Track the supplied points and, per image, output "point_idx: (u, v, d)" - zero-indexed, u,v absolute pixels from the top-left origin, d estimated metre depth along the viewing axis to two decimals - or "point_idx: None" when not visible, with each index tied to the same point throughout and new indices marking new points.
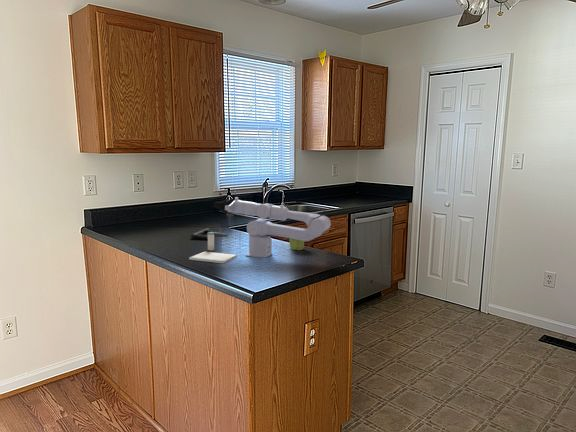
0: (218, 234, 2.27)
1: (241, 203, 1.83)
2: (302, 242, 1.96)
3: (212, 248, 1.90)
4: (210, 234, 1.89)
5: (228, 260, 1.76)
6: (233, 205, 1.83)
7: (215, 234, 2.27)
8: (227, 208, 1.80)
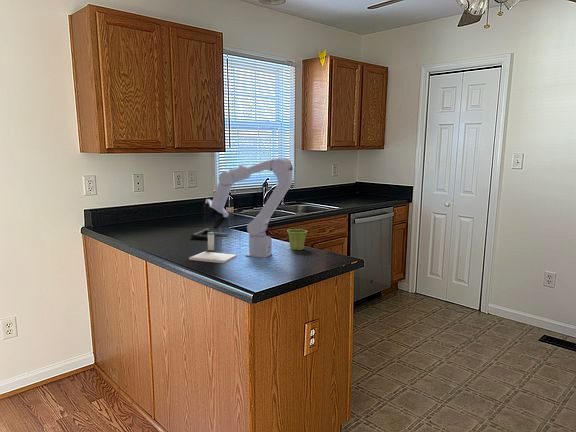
0: (218, 234, 2.27)
1: (218, 201, 1.85)
2: (302, 242, 1.96)
3: (212, 248, 1.90)
4: (210, 234, 1.89)
5: (228, 260, 1.76)
6: (220, 209, 1.86)
7: (215, 234, 2.27)
8: (227, 214, 1.84)
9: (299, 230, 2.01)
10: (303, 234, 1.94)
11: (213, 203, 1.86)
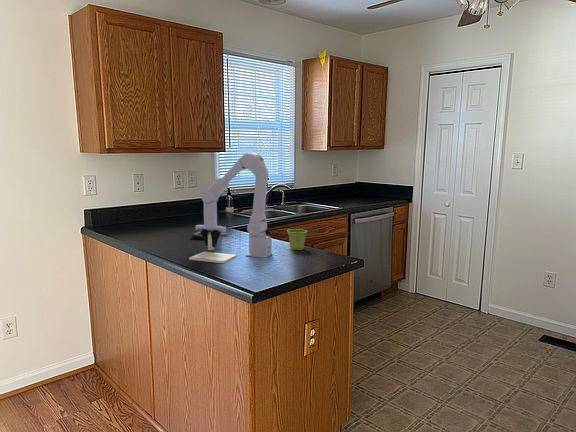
0: None
1: (211, 220, 1.87)
2: (302, 242, 1.96)
3: (212, 248, 1.90)
4: (210, 234, 1.89)
5: (228, 260, 1.76)
6: (215, 227, 1.88)
7: None
8: (225, 228, 1.88)
9: (299, 230, 2.01)
10: (303, 234, 1.94)
11: (207, 224, 1.87)
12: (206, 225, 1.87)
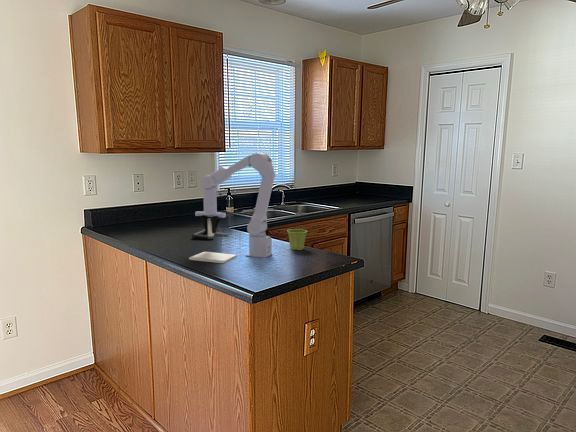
0: (218, 234, 2.27)
1: (211, 206, 1.86)
2: (302, 242, 1.96)
3: (212, 234, 1.89)
4: (210, 220, 1.88)
5: (228, 260, 1.76)
6: None
7: (215, 234, 2.27)
8: (225, 214, 1.87)
9: (299, 230, 2.01)
10: (303, 234, 1.94)
11: (207, 210, 1.86)
12: (206, 211, 1.86)
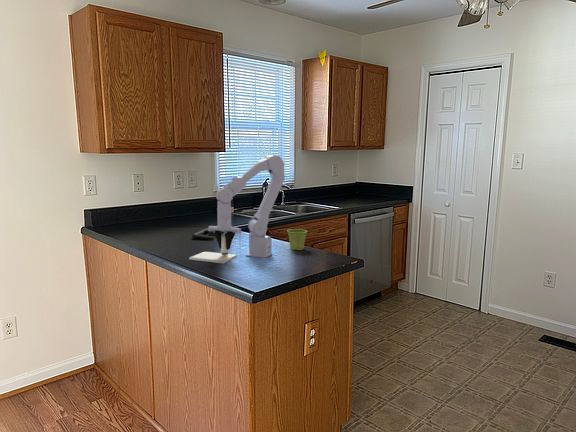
0: None
1: (225, 221, 1.76)
2: (302, 242, 1.96)
3: (226, 251, 1.80)
4: (224, 236, 1.78)
5: (228, 260, 1.76)
6: (229, 228, 1.78)
7: None
8: (240, 230, 1.77)
9: (299, 230, 2.01)
10: (303, 234, 1.94)
11: (221, 225, 1.76)
12: (220, 226, 1.77)
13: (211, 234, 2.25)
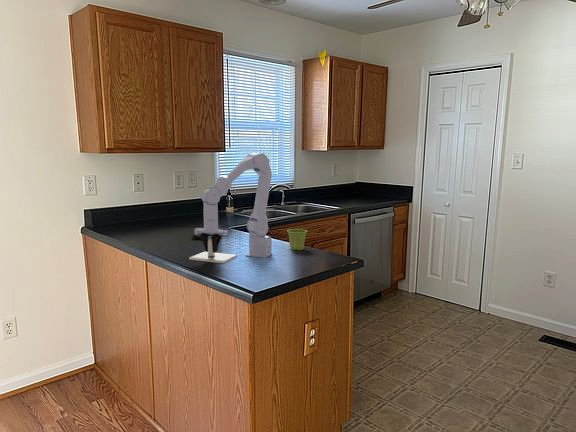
0: None
1: (212, 223, 1.71)
2: (302, 242, 1.96)
3: (213, 254, 1.74)
4: (210, 238, 1.73)
5: (228, 260, 1.76)
6: (216, 230, 1.72)
7: None
8: (226, 232, 1.71)
9: (299, 230, 2.01)
10: (303, 234, 1.94)
11: (207, 228, 1.71)
12: (206, 228, 1.71)
13: (211, 234, 2.25)
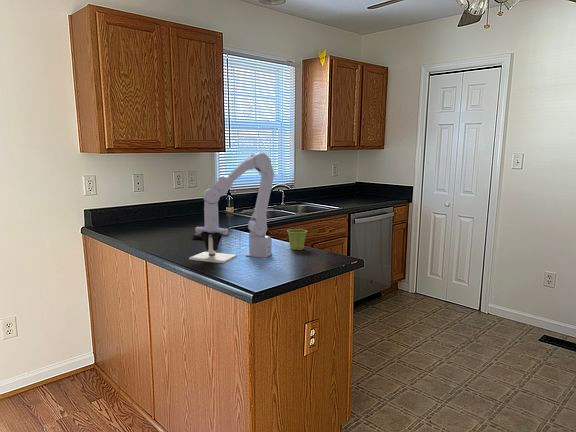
0: None
1: (212, 222, 1.74)
2: (302, 242, 1.96)
3: (213, 252, 1.77)
4: (211, 237, 1.76)
5: (228, 260, 1.76)
6: (217, 229, 1.75)
7: None
8: (227, 231, 1.75)
9: (299, 230, 2.01)
10: (303, 234, 1.94)
11: (208, 226, 1.74)
12: (207, 227, 1.75)
13: None
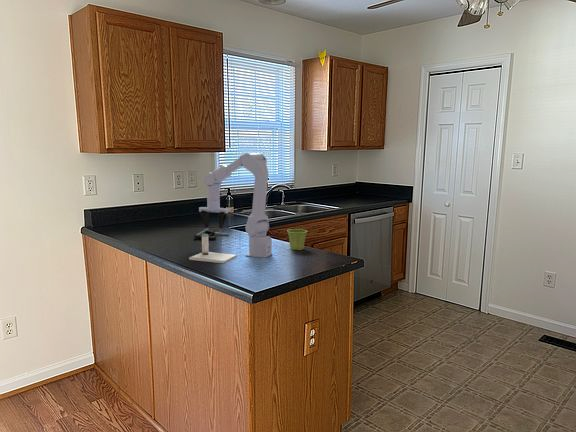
0: (219, 234, 2.27)
1: (214, 202, 1.94)
2: (302, 242, 1.96)
3: (206, 250, 1.82)
4: (204, 236, 1.81)
5: (228, 260, 1.76)
6: (218, 208, 1.96)
7: (216, 234, 2.27)
8: (227, 210, 1.95)
9: (299, 230, 2.01)
10: (303, 234, 1.94)
11: (210, 206, 1.95)
12: (209, 207, 1.95)
13: (212, 234, 2.25)
